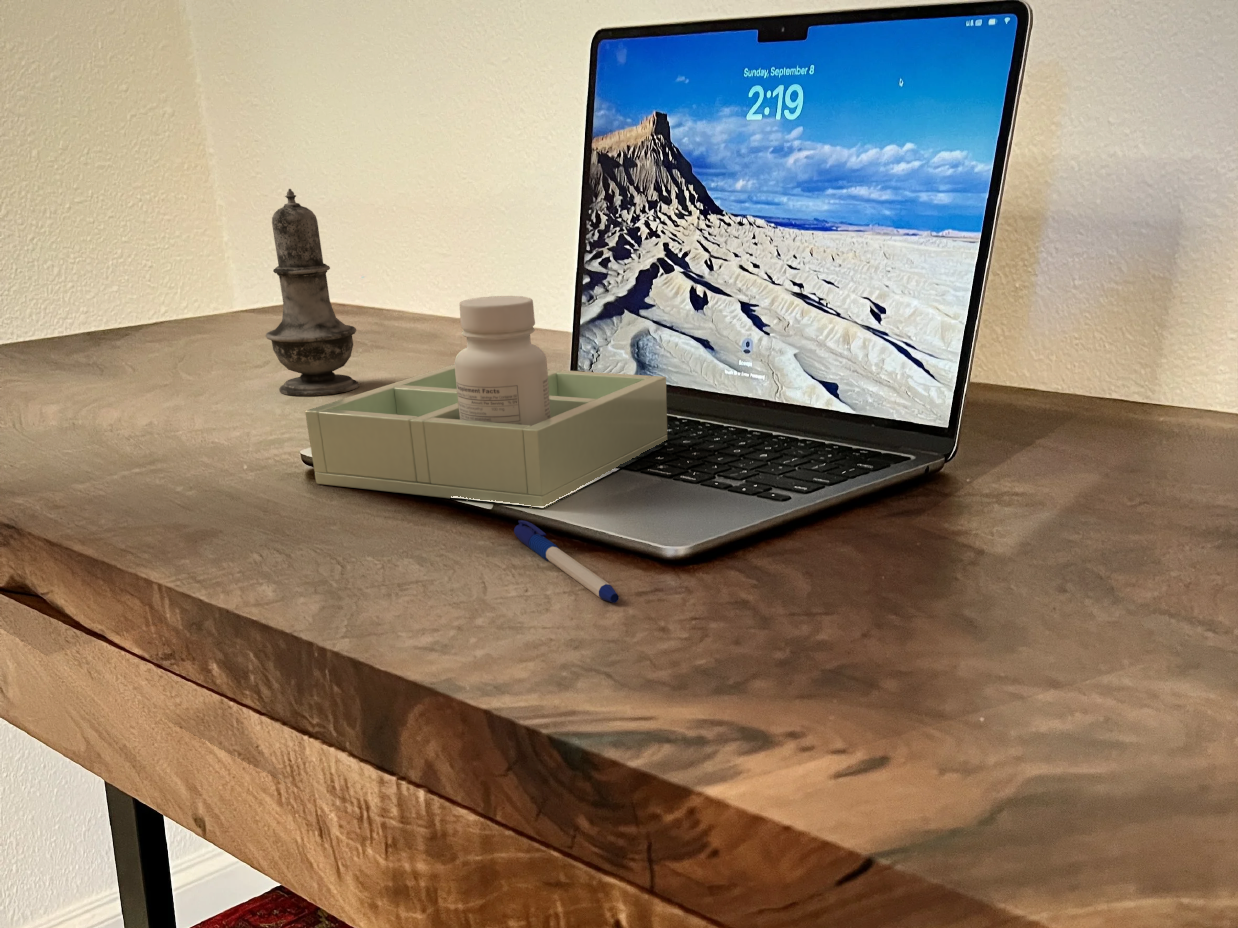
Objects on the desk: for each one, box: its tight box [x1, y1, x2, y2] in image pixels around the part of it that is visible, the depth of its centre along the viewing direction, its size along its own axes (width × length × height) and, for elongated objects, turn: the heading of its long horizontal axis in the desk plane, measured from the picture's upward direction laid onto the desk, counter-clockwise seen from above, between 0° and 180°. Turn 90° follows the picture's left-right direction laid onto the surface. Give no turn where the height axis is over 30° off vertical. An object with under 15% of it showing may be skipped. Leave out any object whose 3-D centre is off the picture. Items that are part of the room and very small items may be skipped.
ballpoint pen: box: [513, 519, 620, 604], centre depth 55 cm, size 10×1×1 cm, turn 27°
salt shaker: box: [265, 188, 360, 397], centre depth 87 cm, size 6×6×12 cm
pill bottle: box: [454, 295, 551, 426], centre depth 64 cm, size 4×4×8 cm
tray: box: [304, 363, 669, 506], centre depth 69 cm, size 13×13×4 cm
